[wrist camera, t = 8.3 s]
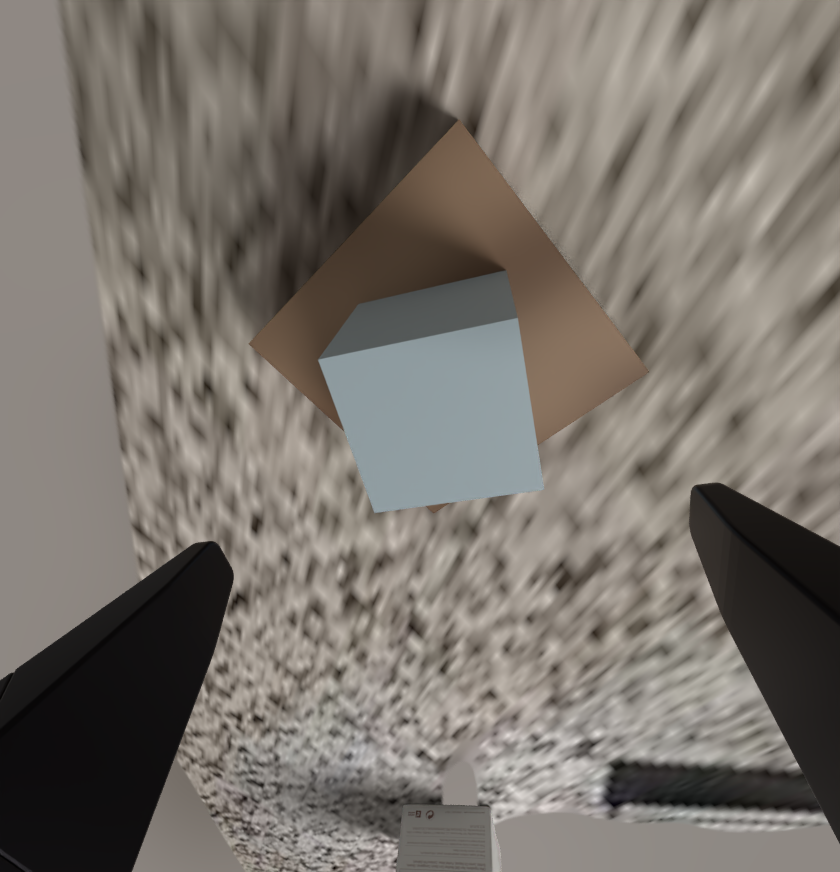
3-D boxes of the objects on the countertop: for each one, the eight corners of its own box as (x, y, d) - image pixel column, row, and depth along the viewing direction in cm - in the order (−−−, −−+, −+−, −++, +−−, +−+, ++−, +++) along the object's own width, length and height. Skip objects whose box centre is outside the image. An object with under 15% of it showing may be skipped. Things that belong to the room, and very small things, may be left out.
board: (629, 346, 19) (649, 371, 17) (437, 479, 23) (433, 513, 21) (461, 122, 16) (459, 118, 14) (272, 322, 20) (248, 343, 18)
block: (506, 270, 16) (517, 317, 11) (527, 407, 18) (543, 489, 14) (358, 304, 17) (317, 359, 12) (397, 429, 19) (374, 512, 15)
